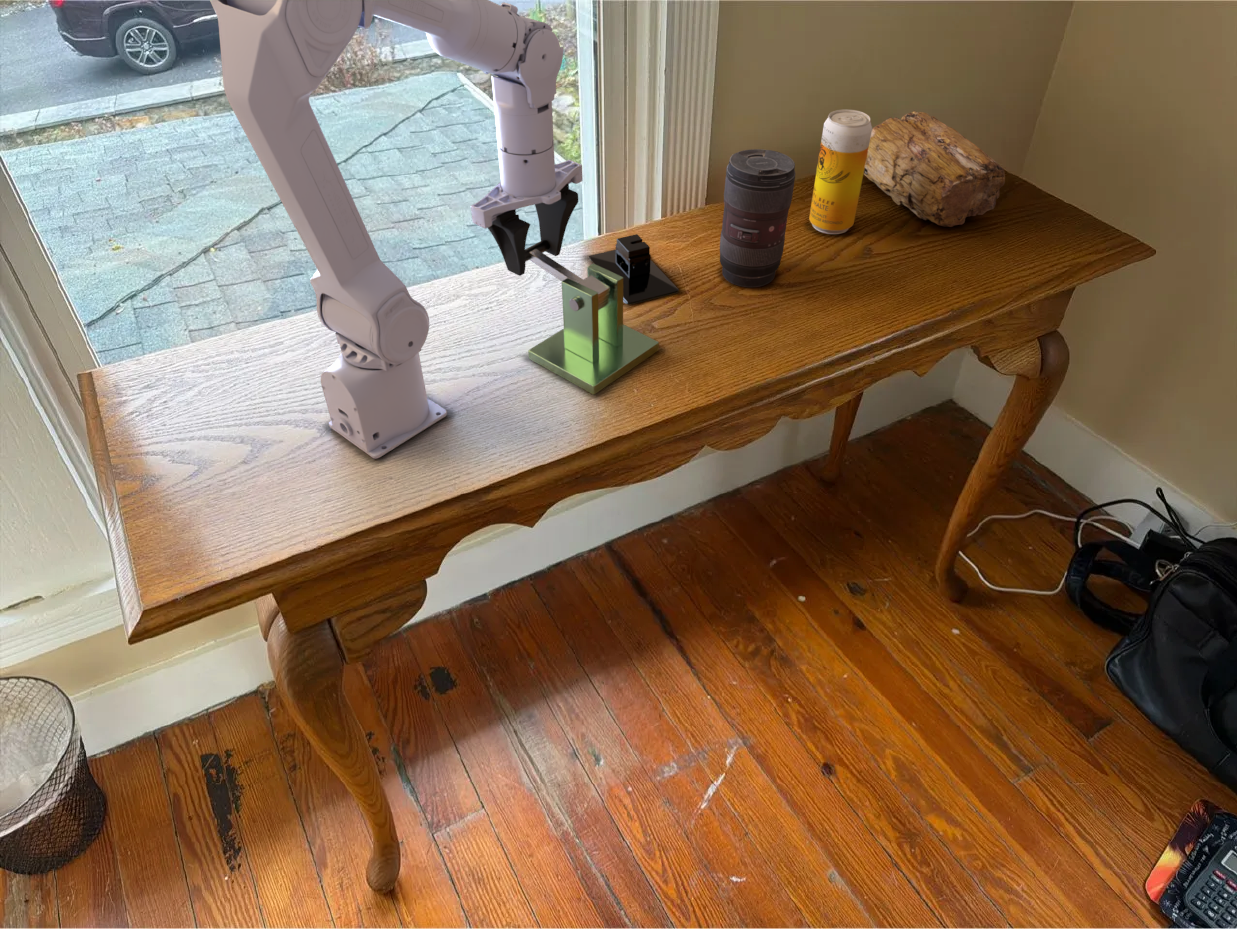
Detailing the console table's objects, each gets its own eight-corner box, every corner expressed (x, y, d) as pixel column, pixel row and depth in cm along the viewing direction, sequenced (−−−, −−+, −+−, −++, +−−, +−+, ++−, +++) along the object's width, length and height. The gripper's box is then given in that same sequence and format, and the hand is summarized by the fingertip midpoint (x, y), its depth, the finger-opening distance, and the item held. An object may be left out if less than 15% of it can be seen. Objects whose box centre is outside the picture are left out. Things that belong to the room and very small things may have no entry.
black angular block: (679, 293, 112) (681, 260, 109) (626, 306, 110) (626, 273, 107) (636, 246, 120) (637, 214, 117) (586, 258, 118) (585, 226, 115)
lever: (510, 267, 100) (510, 249, 98) (541, 250, 103) (543, 233, 101) (585, 318, 96) (587, 300, 94) (616, 299, 99) (619, 281, 97)
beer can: (800, 218, 126) (816, 111, 116) (839, 212, 127) (859, 105, 117) (820, 239, 122) (839, 129, 112) (860, 232, 123) (882, 123, 113)
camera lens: (792, 283, 114) (810, 169, 103) (735, 296, 111) (747, 181, 101) (761, 253, 119) (775, 142, 109) (706, 264, 117) (715, 152, 107)
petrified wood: (1006, 219, 125) (1016, 154, 117) (923, 253, 124) (927, 190, 116) (926, 158, 138) (930, 96, 130) (850, 188, 137) (850, 128, 129)
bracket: (528, 358, 102) (522, 283, 95) (594, 318, 108) (592, 244, 101) (593, 395, 97) (592, 318, 90) (658, 350, 103) (661, 275, 96)
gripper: (500, 178, 86) (511, 301, 95) (602, 132, 94) (603, 249, 103) (451, 157, 89) (466, 277, 98) (553, 114, 97) (559, 229, 106)
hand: (533, 262), depth 101 cm, fingers closed on lever, 5 cm apart
